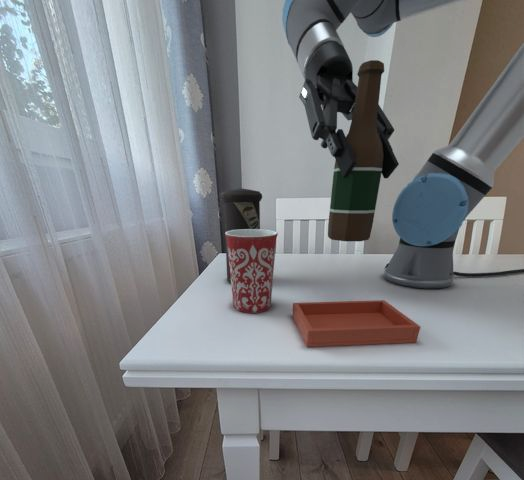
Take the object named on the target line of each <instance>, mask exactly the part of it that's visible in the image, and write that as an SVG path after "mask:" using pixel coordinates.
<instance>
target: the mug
mask: <svg viewBox="0 0 524 480" xmlns="http://www.w3.org/2000/svg"><path fill="white" fill-rule="evenodd" d="M225 235H226V237H225V239H226V238H227V247H228V258H229V267H230V277H231V283H230V287H231V295H232V296H231V297H232V306H233V308H234V309H235V310H236V311H238V312H242V313H246V314H247V313H248V314H258V313H263V312H266V311H268V310H269V309H270V308H271V305H272V297H273V296H272V294H273V283H274V270H275V259H276V247H277V246H276V245H277V237H278V235H279V233H278V232H277V231H275V230H270V229H263V228H262V229H261V228H260V229H239V230H231V231H227V232H226V233H225V232H224V236H225Z"/></svg>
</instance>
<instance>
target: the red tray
mask: <svg viewBox="0 0 524 480" xmlns="http://www.w3.org/2000/svg"><path fill="white" fill-rule="evenodd" d="M291 315H292V319H293V321H294V323H295V325H296V327H297V329H298V332H299V333H300V336H301V339H302V340H303V342H304V344H305V347H306V348H317V347H318V348H319V347H341V346H345V347H346V346H365V345H387V344H389V345H390V344H413V343H417V341H418V339H419V335H420V331H421V326H420V324H417V322H415V321H414V320H413V319H411V318H409V317H408V316H407V315H405V314H404V313H403V312H401V310H400V311H399V309H397V308H396V307H395V306H394V305H391V303H389V302H388V301H386V300H385V299H381V300H380V299H378V300H377V299H375V300H347V301H345V300H344V301H343V300H342V301H311V302H308V301H307V302H293V303H292V314H291Z"/></svg>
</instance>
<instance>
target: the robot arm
mask: <svg viewBox="0 0 524 480" xmlns="http://www.w3.org/2000/svg"><path fill="white" fill-rule="evenodd" d="M465 1H466V0H284V4H283V8H282V17H281V19H282V20H281V21H282V26H283V31H284V32H285V38H286V40H287V43H288V46H289V47H290V49H291V52H292V53H293V55H294V58H295V59H296V62H297V64H298V67H299V69H300V72H301V74H302V76H303V79H304V82H303V85H302V88H301V91H300V93H299V97H298V98H299V99H300V102H302V103H301V104H303V106H304V110H305V114H306V117H307V118H306V119H307V122H308V126H309V131H310V135H311V138H312V139H313V140H314V141H319V139H321V143H320V147H321V148H322V149H327V148H328V151H329V153H330V154H331V156H332V157H333V158H334V159H335V161H336V162H337V164H338V167H339V169H340V171H341V174H342V176H343V178H347V177H348V176H349V174H350V172H351V171H352V169H353V168H354V166H355V165H356V163H357V162H356V160H355V157H354V155H353V153H352V150H351V148H350V146H349V143H348V141H347V139H346V134H345V132H344V130H343V129H342V128H338V113H341V114H342V115H343V116H344V118H345V119H346V120H347V121H352V116H353V110H354V104H355V98H356V93H357V87H358V85H356V84H355V82H354V79H353V77H354V76H353V74H354V68H353V63H352V61H351V58H350V56H349V54H348V52H347V50H346V48H345V45H344V43H343V41H342V39H341V37H340V35H339V33H338V31H337V30H338V29H339V28H340V27H341V25H342V24H343V23H344V22H345V21H346V19H347V18H348V17H349V16H350V14H351V15H352V16H353V19H354V20H355V22H356V24H357V27H358V28H359V29H360V30H361V31H362V32H363V33H364V34H365V35H367V36H368V37H371V38H378V37H381V36H383V35H384V34H386V33H387V32H388V31H389V30H390V29H391V27H393V25H394V24H395V23H398V22H401V21H404V20H408V19H411V18H413V17H417V16H419V15H424V14H426V13H429V12H433V11H435V10H440V9H443V8H446V7H449V6H451V5H455V4H458V3H462V2H465ZM337 128H338V129H337ZM377 133H378V135H379V137H380V140H381V142H382V147H383V154H384V156H383V166H382V173H381V176H382V177H383V179H389V178H390V176H391V175H392V174H393V173H394V172H395V170H396V169H397V168H398V166H399V164H400V163H399V161H398V159H397V157H396V155H395V153H394V150H393V149H394V148H393V147H392V145H391V143H390V141H389V139H390V138H391V136H392V135H393V133H395V128H394V126H393V124H392V123H391V121H390V120H389V118H388V117H387V116H386V114H385V111H383V109H382V107H381V106H380V104H378V114H377ZM523 139H524V42H523V43H522V44H521V45H520V47H519V48H518V50H517V51H516V52H515V53H514V55H513V56H512V58H511V59H510V61H509V62H508V64H507V65H506V66H505V67H504V68H503V70H502V71H501V73H500V74H499V76H498V77H497V79H496V80H495V81H494V83H493V84H492V85H491V87H490V89H489V90H488V91H487V92H486V94H485V95H484V96H483V97H482V99H481V100H480V102H479V103H478V105H477V106H476V107H475V109H474V110H473V112H472V113H471V114H470V115H469V117H468V118H467V120H466V121H465V122H464V124H463V125H462V127H461V128H460V130H459V131H458V132H457V134H455V136H454V137H453V139H452V141H451V142H450V143H449V144H447V145H446V146H444V147H441V148H438V149H435V150H434V151H433V152H432V153H431V155H430V156H429V157H428V159H427V161H425V163H424V164H423V166H422V167H421V169H419V171H418V173H416V174H415V175H414V176H413V178H412V181H410V182H409V183H407V185H406V186H405V187H404V188H402V190H401V191H400V193H399V194H398V196H397V197H396V200H395V202H394V205H393V208H392V215H391V217H392V218H391V220H392V225H393V228H394V231H395V233H396V234H397V235H398V237H399V242H398V245H397V248H396V250H395V252H394V253H393V255H392V257H391V259H390V260H389V262H388V263H386V265H385V266H384V268H383V269H384V274H383V278H384V279H385V280H386V281H388V282H390V283H393V284H396V285H398V286H399V285H400V286H403V287H408V288H415V289H429V290H432V289H433V290H435V289H437V290H438V289H444V288H449V287H451V286H452V284H453V281H454V277H455V276H457V277H467V278H468V277H471V278H473V277H476V278H477V277H495V276H505V275H511V274H521V273H524V268H521V269H520V268H519V269H511V270H510V269H509V270H503V271H493V272H472V273H471V272H459V271H454V247H455V244H456V241H457V237H458V234H459V231H460V229H461V227H462V225H463V223H464V221H465V220H466V218H467V217H468V216H469V215H470V214H471V212H473V210H475V208H476V207H477V205H478V204H479V203H480V202H481V201H482V200H483V199H484V198H485V197H486V195H487V194H488V193H489V192H490V191H491V190H492V189H493V187H494V185H495V173H496V170H497V169H498V168H499V167H500V165H501V164H502V163H503V162H504V161H505V160H506V158H507V157H508V156H509V155H510V154H511V152H512V151H513V150H515V148H516V147H517V146H518V145H519V143H520V142H521V141H522V140H523Z"/></svg>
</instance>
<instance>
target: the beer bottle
mask: <svg viewBox="0 0 524 480" xmlns="http://www.w3.org/2000/svg"><path fill="white" fill-rule="evenodd" d="M384 73H385V63H384V62H383V61H380V60H378V59H377V60H374V59H373V60H367V61H364V62H362V63H361V64H360V66H359V68H358V70H357V77H358V81H357V93H356V98H355V103H354V105H353V106H354V110H353V116H352V120H351V122H350V126H349V130H348V133H347V134H346V135H345V137H346V139H347V141H348V143H349V146H350V148H351V150H352V153H353V155H354V157H355V160H356V162H357V163H356V165H355V166H354V168H353V169H352V171H351V172H350V174H349V176H348V177H347V178H343V176H342V174H341V171H340V169H339V167H338V164H337V162H336V160H335V161H334V165H333V166H334V167H333V175H332V176H333V177H332V184H331V185H332V186H331V195H330V205H329V215H328V223H327V238H329V239H330V240H332V241H340V242H365V241H368V240H369V239H370V238H371V235H372V234H371V233H372V229H373V224H374V219H375V213H376V207H377V201H378V196H379V189H380V185H381V178H382V166H383V156H384V154H383V147H382V142H381V140H380V137H379V135H378V133H377V114H378V104H379V103H380V93H381V86H382V85H381V84H382V75H383V74H384ZM379 105H380V104H379Z"/></svg>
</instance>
